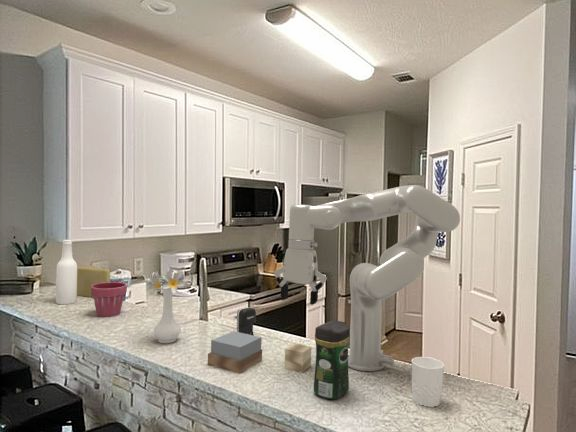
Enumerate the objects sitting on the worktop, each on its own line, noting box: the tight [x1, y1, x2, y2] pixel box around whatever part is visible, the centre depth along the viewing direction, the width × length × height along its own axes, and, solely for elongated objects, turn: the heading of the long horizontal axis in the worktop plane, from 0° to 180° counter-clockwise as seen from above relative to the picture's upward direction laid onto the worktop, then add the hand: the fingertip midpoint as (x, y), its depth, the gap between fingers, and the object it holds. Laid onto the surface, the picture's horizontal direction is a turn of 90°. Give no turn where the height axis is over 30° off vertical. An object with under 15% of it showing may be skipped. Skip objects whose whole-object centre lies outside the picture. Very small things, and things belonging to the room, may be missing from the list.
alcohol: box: [55, 239, 78, 306], centre depth 195 cm, size 9×9×30 cm
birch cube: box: [284, 342, 312, 374], centre depth 125 cm, size 6×6×6 cm
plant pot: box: [91, 281, 128, 318], centre depth 177 cm, size 14×14×13 cm
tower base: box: [207, 348, 263, 374], centre depth 127 cm, size 12×12×4 cm
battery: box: [236, 306, 257, 336], centre depth 149 cm, size 7×4×11 cm, turn 139°
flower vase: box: [144, 270, 190, 344], centre depth 145 cm, size 13×18×25 cm
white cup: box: [411, 356, 445, 407], centre depth 105 cm, size 8×8×10 cm
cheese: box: [77, 265, 111, 299], centre depth 209 cm, size 22×10×15 cm, turn 57°
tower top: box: [210, 330, 262, 361], centre depth 127 cm, size 11×11×4 cm
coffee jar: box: [313, 319, 350, 400], centre depth 108 cm, size 10×8×19 cm
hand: (298, 301), depth 124 cm, fingers open, 9 cm apart
